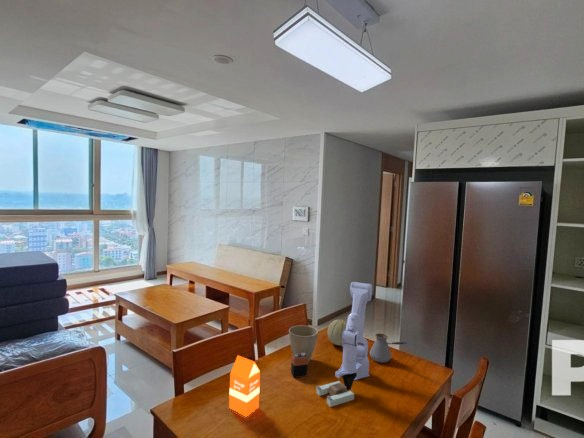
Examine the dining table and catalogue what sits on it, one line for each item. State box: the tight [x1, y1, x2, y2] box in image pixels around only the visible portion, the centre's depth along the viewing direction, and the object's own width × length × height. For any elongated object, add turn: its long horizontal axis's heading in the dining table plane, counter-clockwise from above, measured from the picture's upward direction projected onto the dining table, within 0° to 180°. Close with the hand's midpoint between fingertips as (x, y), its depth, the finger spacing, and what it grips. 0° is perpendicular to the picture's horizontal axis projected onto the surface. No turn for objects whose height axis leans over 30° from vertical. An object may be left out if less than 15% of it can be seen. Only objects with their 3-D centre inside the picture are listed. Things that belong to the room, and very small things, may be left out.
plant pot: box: [288, 324, 319, 364], centre depth 162 cm, size 15×15×16 cm
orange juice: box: [228, 354, 261, 418], centre depth 122 cm, size 8×9×20 cm
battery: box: [290, 353, 309, 378], centre depth 149 cm, size 4×7×10 cm, turn 108°
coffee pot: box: [368, 333, 409, 364], centre depth 164 cm, size 21×12×15 cm, turn 34°
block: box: [328, 381, 347, 396], centre depth 134 cm, size 6×4×4 cm, turn 122°
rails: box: [315, 380, 355, 408], centre depth 133 cm, size 12×10×3 cm
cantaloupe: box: [327, 317, 347, 347], centre depth 184 cm, size 15×15×15 cm
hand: (347, 389), depth 137 cm, fingers closed
